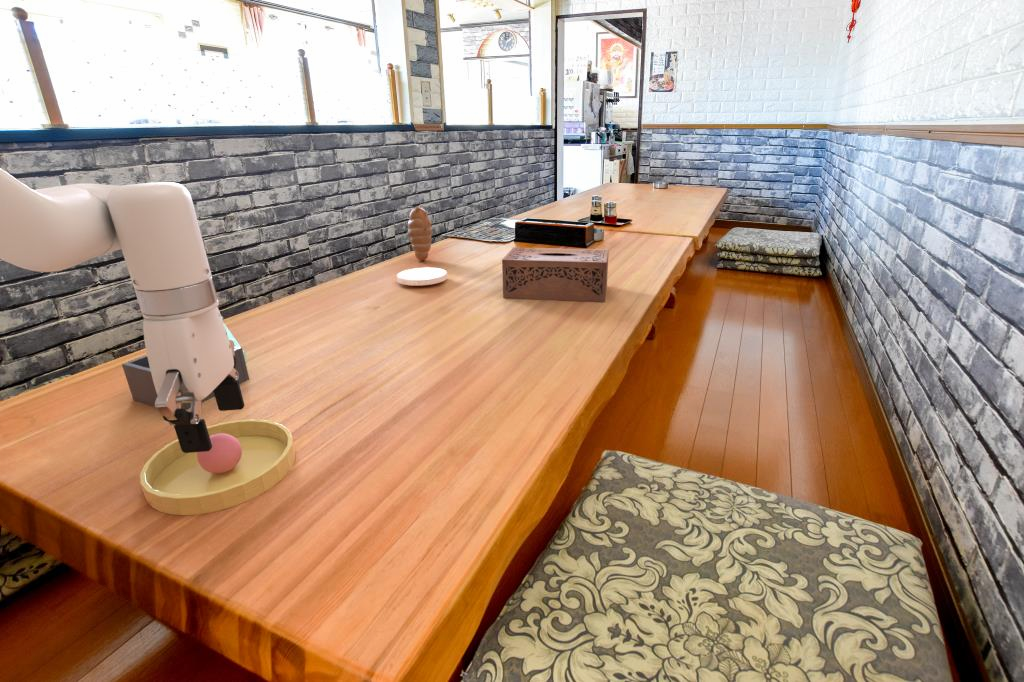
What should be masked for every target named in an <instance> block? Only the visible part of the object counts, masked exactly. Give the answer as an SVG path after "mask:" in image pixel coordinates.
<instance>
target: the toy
mask: <svg viewBox="0 0 1024 682" xmlns="http://www.w3.org/2000/svg"><path fill="white" fill-rule="evenodd" d="M209 437H210V440H211V444H212V448H211V449H210V451H205V452H197V459H198V462H199V464H200V466H201V467H202V468H203V469H204V470H206V471H208V472H210V473H216V474H218V473H225V472H227V471H229V470H231V469H233V468H234V467H235V466H236V465H237V464H238V462H239V461H240V459H241V456H242V448H241V444H240V443H239V441H238V440H237V439H236V438H235V437H233V436H231V435H229V434H224V433H219V434H214V435H212V436H209Z"/></svg>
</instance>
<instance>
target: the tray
mask: <svg viewBox="0 0 1024 682" xmlns="http://www.w3.org/2000/svg"><path fill="white" fill-rule="evenodd" d="M206 427H207V430H208V433H209V436H212V435H214V434H219V433H224V434H229V435H231V436H233V437H235V438H236V439H237V440H238V441H239V443H240V444H241V448H242V456H241V459H240V461H239V462H238V464H237V465H236V466H235V467H234V468H233V469H231V470H229V471H227V472H225V473H218V474H216V473H210V472H208V471H206V470H204V469H203V468H202V467H201V466H200V464H199V462H198V459H197V452H192V453H184V452H182V450H181V447H180V444H179V441H178V438H177V439H175V440H172V441H171V442H169V443H167V444H165V446H163V447H161V448H160V449H159V450H157V451H155V453H153V455H152V456H150V458H148V460H147V461H146V462H145V463H144V465H143V467H142V469H141V470H140V472H139V483H140V487H141V490H142V492H143V496H144V498H145V501H146V502H147V504H148V505H149V506H150V507H151V508H152V509H154V510H156V511H158V512H159V513H164V514H167V515H171V516H172V515H173V516H197V515H207V514H211V513H216V512H219V511H224V510H227V509H230V508H234V507H236V506H239V505H241V504H244V503H246V502H249V501H251V500H253V499H255V498H257V497H259V496H260V495H262V494H264V493H266V492H267V491H268V490H270V489H271V488H273V487H274V486H276V485H277V484H278V483H280V482H281V481H282V480H283V479H284V478H285V477H286V476H287V475H288V473H289V472H290V471H291V469H292V468H293V466H294V463H295V461H296V447H295V442H294V437H293V435H292V433H291V431H290V429H289V428H288V427H286V426H285V425H284V424H281V423H279V422H275V421H272V420H267V419H257V418H251V419H250V418H249V419H237V420H231V421H225V422H224V421H223V422H220V423H216V424H212V425H209V426H206Z"/></svg>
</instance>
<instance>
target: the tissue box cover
mask: <svg viewBox="0 0 1024 682" xmlns="http://www.w3.org/2000/svg"><path fill="white" fill-rule="evenodd" d="M609 252H610V250H609V249H606V248H605V249H601V248H597V249H596V248H559V247H558V248H557V247H519V246H517V247H516V246H515V247H513V246H512V248H511V250H509V251H508V252H507V253H506V255H505V256H504V257H503V258H502V259H501V262H502V263H501V266H502V267H501V268H502V270H501V271H502V274H501V275H502V298H503V299H517V300H541V301H566V302H586V303H587V302H588V303H589V302H591V303H592V302H593V303H606V297H607V288H608V273H609V270H608V269H609V254H610V253H609Z"/></svg>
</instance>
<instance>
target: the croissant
mask: <svg viewBox="0 0 1024 682" xmlns="http://www.w3.org/2000/svg"><path fill="white" fill-rule="evenodd" d="M407 228H408V229H407V235H408V237H409V242H410V244H411V249H412V251H413V252H414V256H415V258H416V259H417V260H418V261H420V262H424V261H426V260H428V257H429V252H430V251H431V248H432V245H431V244H432V235H433V229H432V221H431V219H430V217H429V213H428V211H426V209H424V208H423V206H422V204H420V205H419V206H416V207H414V208H412V209H411V210H410V212H409V220H408V221H407Z"/></svg>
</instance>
